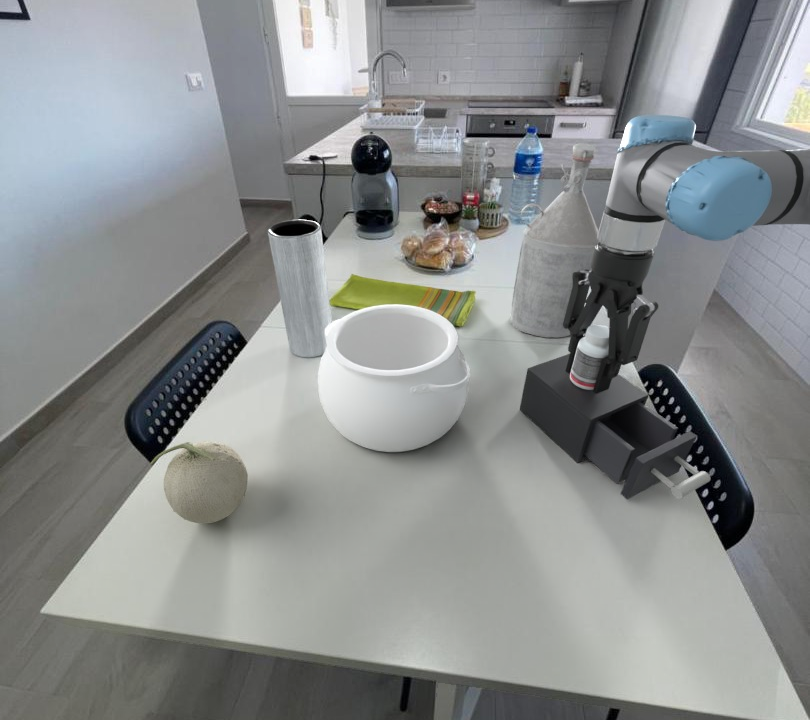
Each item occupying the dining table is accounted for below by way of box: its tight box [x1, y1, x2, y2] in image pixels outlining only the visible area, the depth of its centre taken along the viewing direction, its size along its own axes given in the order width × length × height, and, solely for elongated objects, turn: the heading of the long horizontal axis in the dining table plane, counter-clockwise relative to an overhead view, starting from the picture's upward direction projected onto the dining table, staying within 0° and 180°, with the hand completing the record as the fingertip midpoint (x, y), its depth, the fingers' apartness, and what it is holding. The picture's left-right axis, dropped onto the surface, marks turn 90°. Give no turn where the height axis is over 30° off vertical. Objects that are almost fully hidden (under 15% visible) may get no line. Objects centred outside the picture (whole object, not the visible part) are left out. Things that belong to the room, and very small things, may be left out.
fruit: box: [149, 441, 249, 524], centre depth 62 cm, size 10×12×15 cm
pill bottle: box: [570, 324, 609, 390], centre depth 71 cm, size 5×5×10 cm
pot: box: [317, 304, 471, 453], centre depth 78 cm, size 29×26×16 cm
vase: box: [267, 219, 333, 358], centre depth 93 cm, size 10×10×27 cm
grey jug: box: [509, 143, 599, 339], centre depth 96 cm, size 13×17×40 cm
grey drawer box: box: [519, 353, 650, 464], centre depth 77 cm, size 15×13×10 cm
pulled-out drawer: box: [583, 402, 711, 500], centre depth 68 cm, size 18×11×8 cm, turn 27°
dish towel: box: [329, 273, 477, 328], centre depth 116 cm, size 15×36×3 cm, turn 71°
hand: (586, 379), depth 74 cm, fingers closed on pill bottle, 5 cm apart
